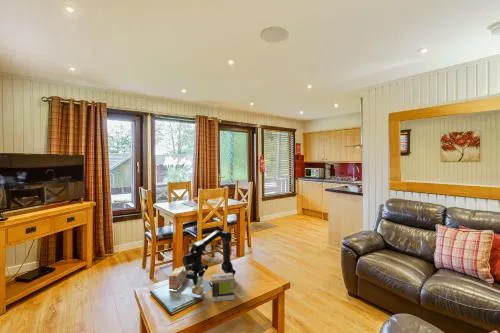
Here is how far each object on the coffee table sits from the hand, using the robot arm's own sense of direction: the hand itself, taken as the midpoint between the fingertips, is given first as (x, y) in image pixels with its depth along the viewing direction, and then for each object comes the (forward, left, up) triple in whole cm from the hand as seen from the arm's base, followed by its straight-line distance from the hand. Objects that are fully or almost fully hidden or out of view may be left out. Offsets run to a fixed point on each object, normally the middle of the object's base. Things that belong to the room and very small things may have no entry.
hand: (197, 283), depth 173 cm
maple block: (0, 0, -8) cm, 8 cm away
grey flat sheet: (+4, -7, -8) cm, 11 cm away
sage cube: (0, 0, -1) cm, 1 cm away
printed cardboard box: (+21, -6, -8) cm, 23 cm away
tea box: (-18, -4, -8) cm, 20 cm away
